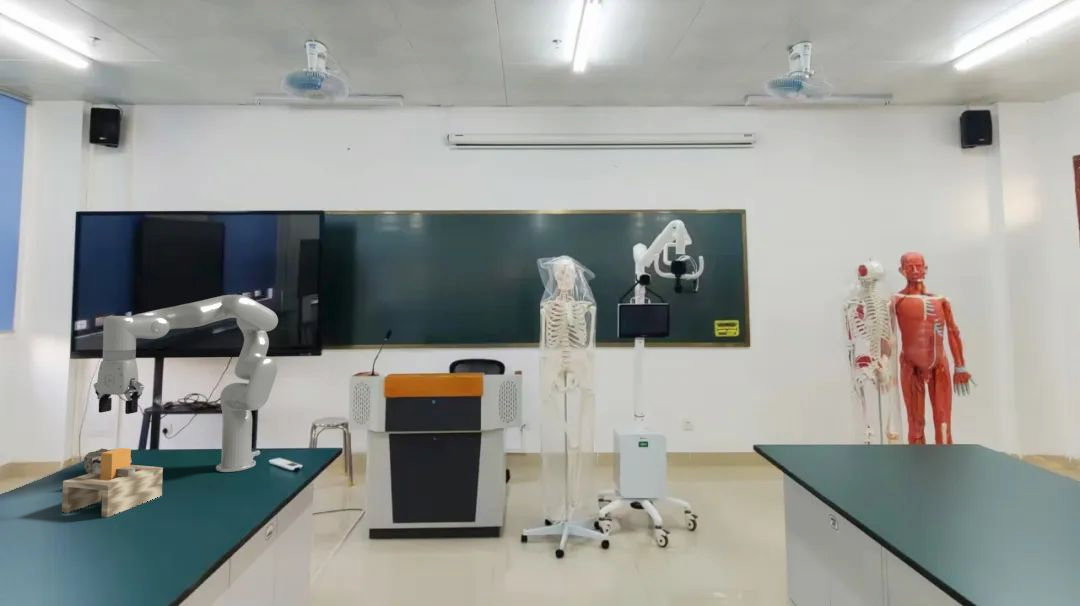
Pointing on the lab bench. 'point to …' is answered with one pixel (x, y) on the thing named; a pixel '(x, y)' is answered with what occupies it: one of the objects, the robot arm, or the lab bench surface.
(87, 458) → the pumice stone
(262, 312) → the robot arm
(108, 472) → the tall wooden brick
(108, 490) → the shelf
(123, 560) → the lab bench surface
